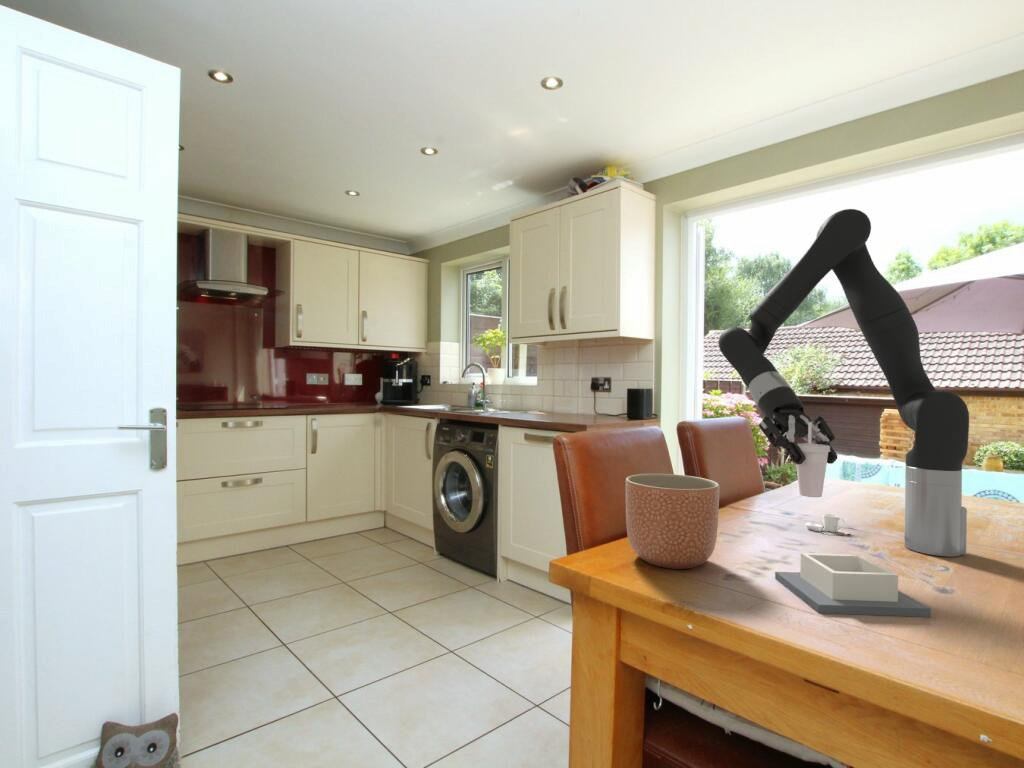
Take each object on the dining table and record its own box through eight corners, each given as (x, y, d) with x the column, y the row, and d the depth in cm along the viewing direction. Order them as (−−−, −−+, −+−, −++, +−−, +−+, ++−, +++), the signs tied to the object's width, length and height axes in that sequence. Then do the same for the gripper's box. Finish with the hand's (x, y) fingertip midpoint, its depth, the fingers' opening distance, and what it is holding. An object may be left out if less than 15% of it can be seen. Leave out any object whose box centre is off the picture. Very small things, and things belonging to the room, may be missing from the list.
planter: (726, 580, 90) (727, 491, 90) (624, 572, 94) (626, 486, 94) (709, 550, 107) (710, 475, 107) (624, 544, 110) (625, 471, 110)
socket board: (869, 581, 91) (870, 551, 91) (930, 616, 77) (931, 581, 77) (775, 578, 92) (775, 548, 92) (818, 612, 78) (818, 577, 78)
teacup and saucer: (802, 531, 125) (802, 514, 125) (813, 526, 130) (813, 509, 130) (845, 539, 118) (845, 521, 118) (854, 533, 124) (854, 516, 124)
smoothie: (820, 492, 104) (820, 421, 104) (836, 499, 98) (837, 424, 98) (786, 491, 105) (786, 421, 105) (800, 498, 99) (801, 423, 99)
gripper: (753, 384, 107) (795, 449, 96) (813, 385, 110) (861, 448, 99) (736, 409, 112) (774, 474, 101) (794, 409, 115) (838, 472, 104)
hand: (817, 461), depth 100 cm, fingers closed on smoothie, 6 cm apart
